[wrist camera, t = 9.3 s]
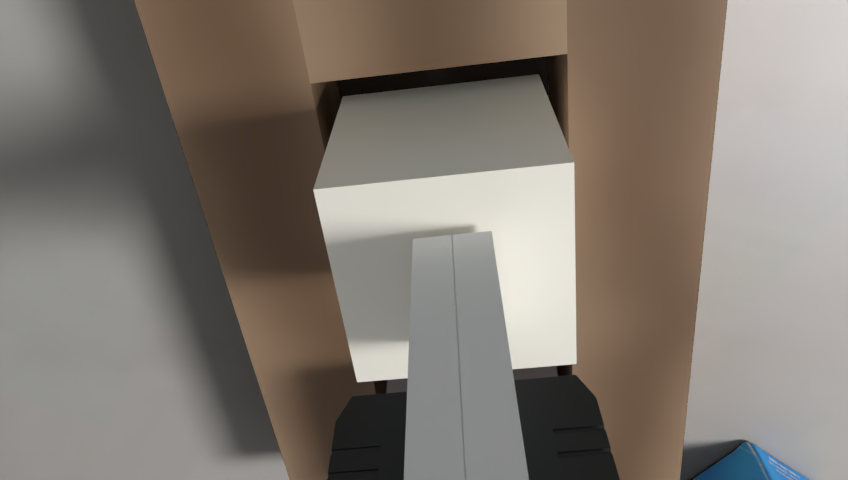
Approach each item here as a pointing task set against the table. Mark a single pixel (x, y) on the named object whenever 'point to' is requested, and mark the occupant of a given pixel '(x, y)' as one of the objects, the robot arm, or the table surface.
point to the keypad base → (434, 49)
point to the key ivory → (450, 211)
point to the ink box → (749, 466)
